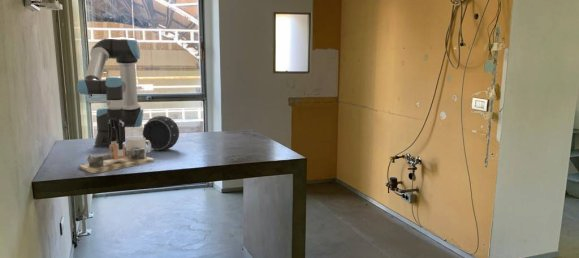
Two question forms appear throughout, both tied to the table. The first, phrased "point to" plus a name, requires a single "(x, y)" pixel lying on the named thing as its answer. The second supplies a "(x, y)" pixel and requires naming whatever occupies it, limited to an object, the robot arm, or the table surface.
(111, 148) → the coupler
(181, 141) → the table surface
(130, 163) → the shaft bench
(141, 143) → the mug
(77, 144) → the table surface
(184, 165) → the table surface
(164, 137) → the black drum
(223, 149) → the table surface
